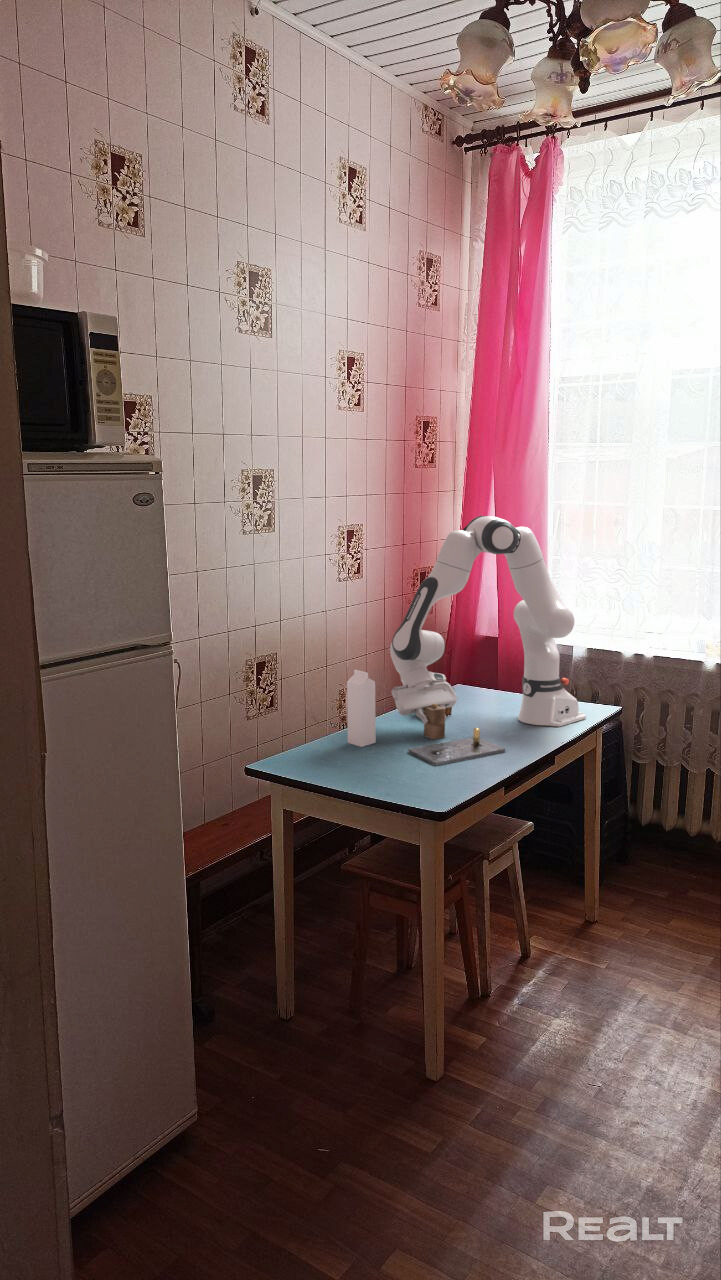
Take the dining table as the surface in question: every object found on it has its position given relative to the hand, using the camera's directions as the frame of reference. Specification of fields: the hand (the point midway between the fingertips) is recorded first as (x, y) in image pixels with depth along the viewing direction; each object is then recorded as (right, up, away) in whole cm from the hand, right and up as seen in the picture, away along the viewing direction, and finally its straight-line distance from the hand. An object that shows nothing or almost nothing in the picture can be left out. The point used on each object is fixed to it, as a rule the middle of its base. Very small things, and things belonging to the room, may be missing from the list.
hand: (435, 721), depth 271 cm
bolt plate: (+5, -8, -14) cm, 16 cm away
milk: (-22, -6, -4) cm, 24 cm away
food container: (+2, 0, +26) cm, 26 cm away
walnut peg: (0, -5, +1) cm, 5 cm away
